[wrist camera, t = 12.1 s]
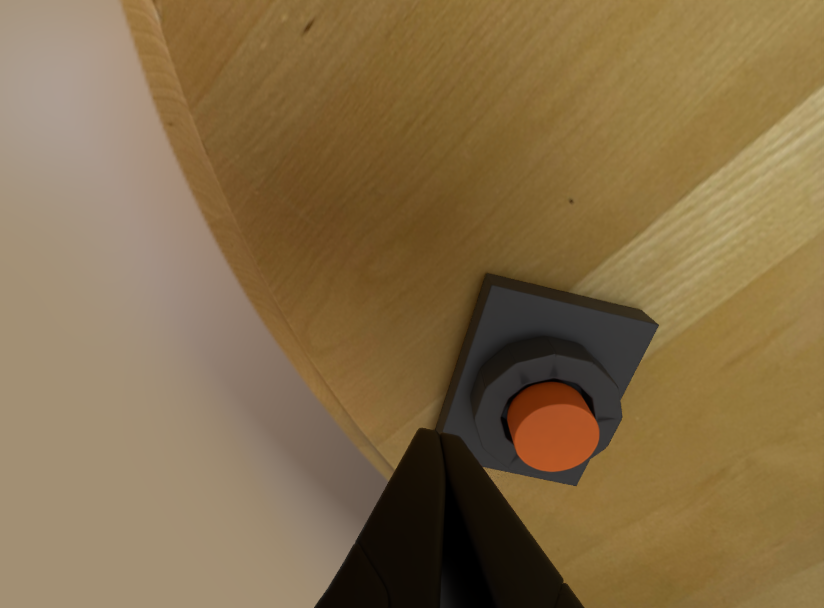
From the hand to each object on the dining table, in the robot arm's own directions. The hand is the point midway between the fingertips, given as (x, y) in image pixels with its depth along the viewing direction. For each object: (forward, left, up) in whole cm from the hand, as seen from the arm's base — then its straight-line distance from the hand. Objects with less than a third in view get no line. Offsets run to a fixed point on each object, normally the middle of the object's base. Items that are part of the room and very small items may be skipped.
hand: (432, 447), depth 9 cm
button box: (+7, -5, -13) cm, 15 cm away
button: (+7, -5, -10) cm, 13 cm away
